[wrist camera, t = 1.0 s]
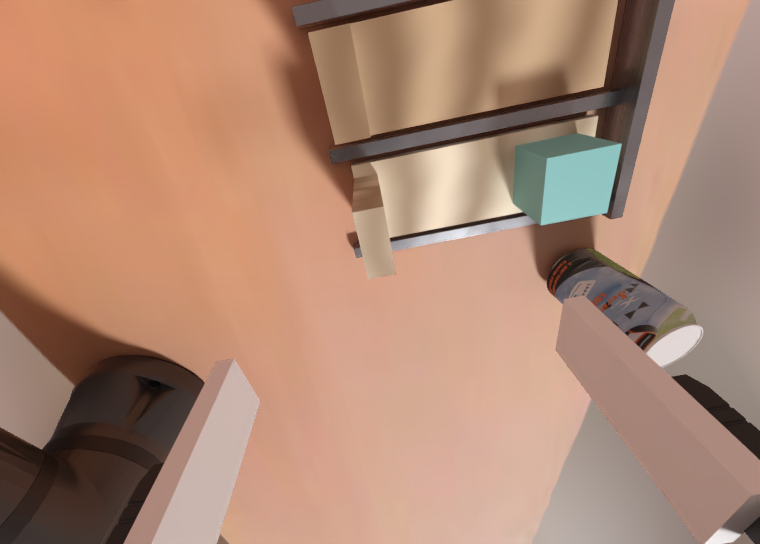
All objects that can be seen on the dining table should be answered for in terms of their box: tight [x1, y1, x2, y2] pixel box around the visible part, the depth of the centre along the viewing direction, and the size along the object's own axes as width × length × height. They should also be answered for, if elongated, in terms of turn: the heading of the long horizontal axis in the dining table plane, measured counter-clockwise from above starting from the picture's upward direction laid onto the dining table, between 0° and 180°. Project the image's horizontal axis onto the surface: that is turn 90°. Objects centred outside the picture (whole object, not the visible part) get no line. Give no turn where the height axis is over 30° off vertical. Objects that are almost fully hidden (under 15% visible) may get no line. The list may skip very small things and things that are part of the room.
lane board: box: [291, 0, 675, 258], centre depth 24 cm, size 24×19×3 cm
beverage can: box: [547, 248, 703, 368], centre depth 29 cm, size 6×7×12 cm
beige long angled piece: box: [351, 115, 598, 279], centre depth 24 cm, size 20×7×9 cm, turn 100°
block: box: [513, 133, 622, 226], centre depth 24 cm, size 5×5×5 cm
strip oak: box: [308, 0, 618, 145], centre depth 19 cm, size 20×7×9 cm, turn 100°
